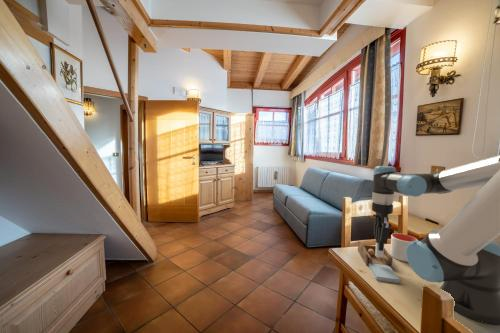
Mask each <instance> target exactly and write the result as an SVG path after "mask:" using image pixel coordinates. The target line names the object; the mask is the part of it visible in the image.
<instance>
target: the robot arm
mask: <svg viewBox="0 0 500 333" xmlns="http://www.w3.org/2000/svg"><path fill="white" fill-rule="evenodd" d="M372 176H373V181H372V186H373V187H372V195H371V196H372V197H371V198H372V199H371V201H372V202H371V210H372V212H373V213H375V214H373V215H372V217H373V237H374V238H375V246H376V248H375V256H376V257H382V258H383V255H384V248H385V244H386V245H387V244H388V240H389V235H390V230H391V226H392V224H391V223H389V215H391V214H393V213H394V205H393V204H394V198H396V197H395V193H398V194H401V195H403V196H410V197H414V198H416V197H419V196H420V197H421V195H423V194H424V195H426V194H427V195H429V194H438V195H443V194H449V193H452V192H454V191H457V190H463V189H471V188H475V187H480V186H482V187H481V188H480V189H479V190H478V191H477V192H476V193H475V194H474V196H473V197H471V198H470V199H469V200H468V202H466V203H465V204H464V206H463V207H462V208H461V209H460V210H458V212H456V214H455V215H454V216H453V217H452V218H451V219H450V220H449V221H447V223H446V224H445V225H444V226H443V227H442V228H441V229H440V228H439V229H437V228H436V229H433V230H430V231H429V232H428V233H427V234H426V235H425V237H423V239H421V240H418V241H413V242H410V243H409V244H408V245H407V247H406V256H407V260H408V262H407V263H408V264H409V266H410V268H411V269H412V271H413V272H414V273H415V274H416V275H417V276H418V277H419V278H421V279H422V280H424V281H426V282H429V283H442V282H443V283H442V284H441V286H440V287H439V290H440V289H442V290H444V291H446V292H448V293H450V294H451V296H452V297H453V298H454V301H455V306H454V310H453V311H456V312H457V313H458V314H461V315H463V316H465V317H467V318H470V319H473V320H474V319H475V321H477V320H479V321H478V322H480V321H483V322H482V323H484V322H486V323H485V324H488V323H490V324H489V325H498V326H499V325H500V243H499V242H496V241H495V239H497V238H499V236H500V154H498V155H494V156H491V157H487V158H483V159H479V160H476V161H472V162H469V163H465V164H461V165H457V166H454V167H451V168H446V169H443V170H440V171H436V172H433V173H404V172H403V173H402V172H397V169H396V167H395V166H390V165H388V166H387V165H377V166H375V167H374V171H373V175H372Z"/></svg>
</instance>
